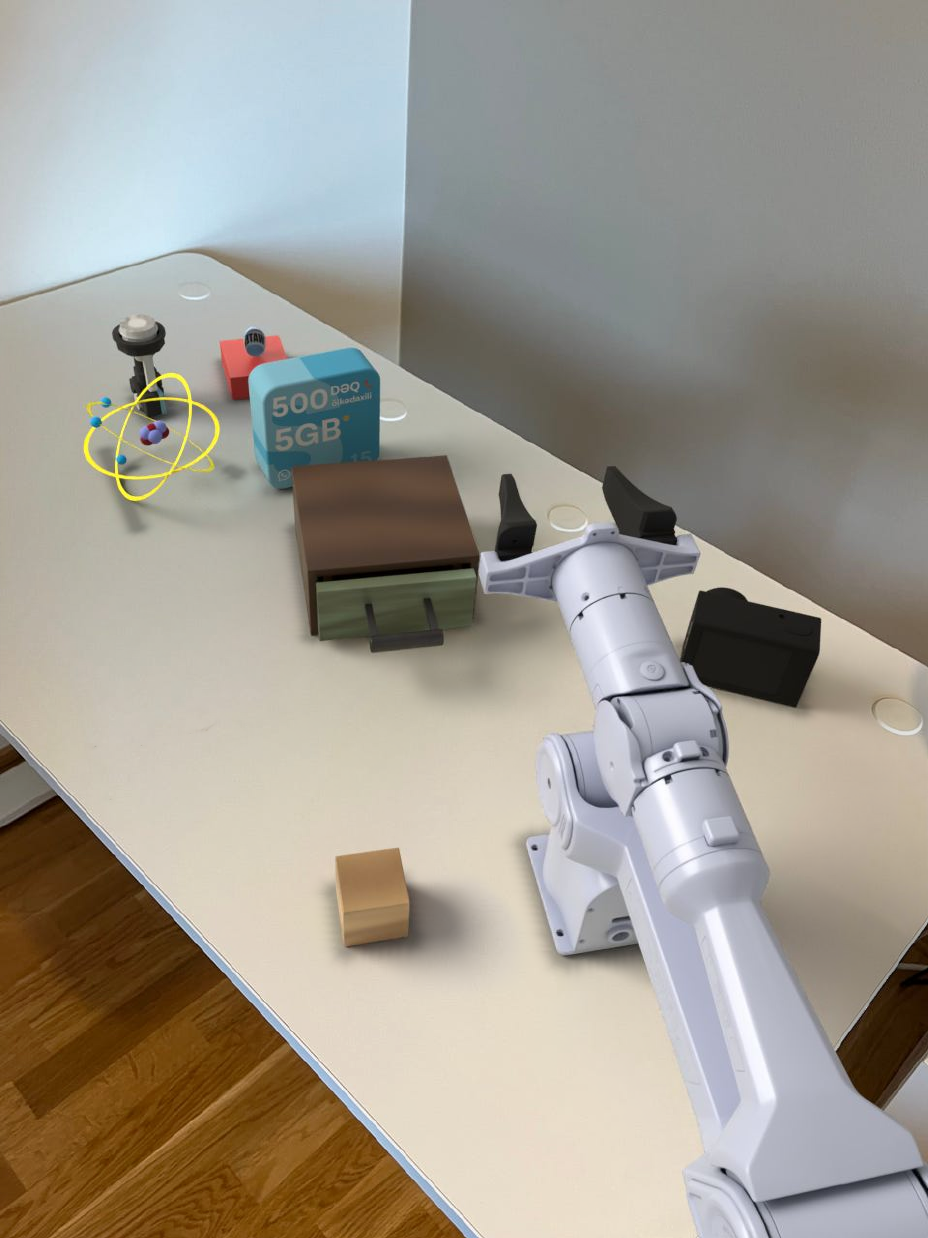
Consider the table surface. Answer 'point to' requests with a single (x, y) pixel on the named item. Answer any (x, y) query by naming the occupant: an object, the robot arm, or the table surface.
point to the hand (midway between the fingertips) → (557, 480)
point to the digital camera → (751, 646)
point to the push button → (143, 358)
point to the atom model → (149, 436)
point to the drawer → (396, 606)
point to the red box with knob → (248, 358)
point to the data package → (314, 412)
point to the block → (372, 896)
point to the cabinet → (378, 520)
